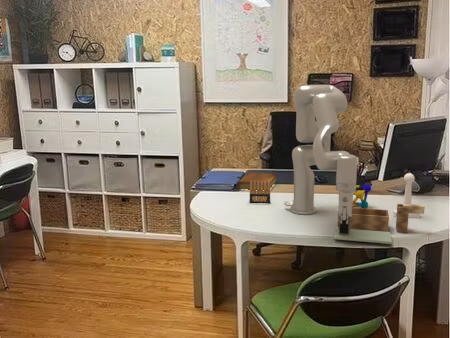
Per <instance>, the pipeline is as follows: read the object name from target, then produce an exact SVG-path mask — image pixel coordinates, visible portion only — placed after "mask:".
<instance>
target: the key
mask: <svg viewBox="0 0 450 338" xmlns="http://www.w3.org/2000/svg"><path fill="white" fill-rule="evenodd" d="M402 204H403V203H402ZM403 207H409V213H416V214H420V215H424V214H425V209H426V208H425V205H424V204H414V203H413V204H412V203H411V204H403Z"/></svg>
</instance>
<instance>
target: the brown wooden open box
mask: <svg viewBox="0 0 450 338" xmlns="http://www.w3.org/2000/svg"><path fill="white" fill-rule="evenodd" d="M396 210H397V217H395V218H396V219H395V220H396V222H395V230H396V233H398V234H399V233H400V234H408V228H409V227H408V226H409V218H408V216H409V215H408V214H409V207H403V203H397V204H396ZM339 218H340V216H339V210H338V212H337V228H339ZM389 222H390V215H389V210H388V209H381V208H379V209H377V208H361V207H354V208H353V209H352V217H350V229H358V230H371V231H384V232H389V224H390V223H389Z"/></svg>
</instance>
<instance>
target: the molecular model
mask: <svg viewBox="0 0 450 338" xmlns="http://www.w3.org/2000/svg"><path fill="white" fill-rule="evenodd" d="M356 189H362V190H356V191H355V192H353V196H355V198H353V208H366V209H368V208H369V203H368V201H367V199H368V193H370V191H371V190H372V185H370V184H368V183H366V184H363V186H362V185H358V184H356ZM358 199H359V200H360V202H359V201H358Z"/></svg>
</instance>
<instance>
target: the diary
mask: <svg viewBox="0 0 450 338" xmlns="http://www.w3.org/2000/svg"><path fill="white" fill-rule="evenodd" d="M277 176H278V174H277V173H261V172H260V173H258V172H247V173H246V174H245V175H244V176H243V177H242V178H240V179H239V181H238V182H237V184H236V185H237V186H236V187H237V188H238V189H239V188H240V189H248V190H250V182H251V181H252V187H253V186H254V181H255V182H256V190H257V182H258V181H259V186H261V181H262V182H263V190H264V182H265V181H266V188H267V184H268V181H269V182H270V188H271V187H272V185H273V184H274V183H275V181H276V182H277V180H276V179H277ZM238 189H237V190H238Z"/></svg>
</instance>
